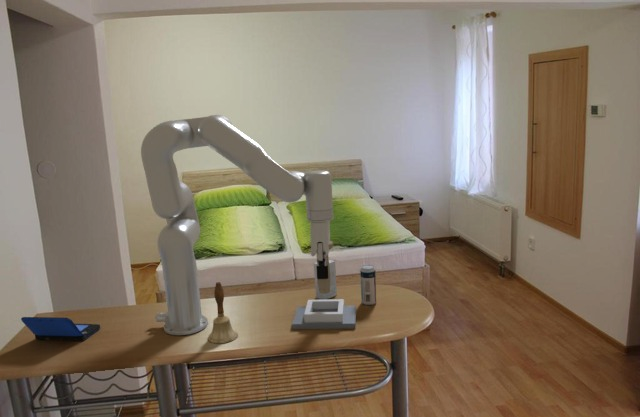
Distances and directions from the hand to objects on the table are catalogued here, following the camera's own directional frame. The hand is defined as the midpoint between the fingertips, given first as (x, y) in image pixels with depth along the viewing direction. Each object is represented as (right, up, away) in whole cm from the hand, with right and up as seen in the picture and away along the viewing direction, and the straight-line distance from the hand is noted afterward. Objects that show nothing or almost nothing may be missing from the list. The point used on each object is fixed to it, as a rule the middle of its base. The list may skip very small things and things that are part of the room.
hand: (323, 275), depth 149 cm
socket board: (+1, -13, +3) cm, 14 cm away
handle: (0, -5, +1) cm, 5 cm away
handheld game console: (-75, -18, 0) cm, 77 cm away
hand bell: (-28, -17, -5) cm, 33 cm away
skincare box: (+1, -10, +20) cm, 23 cm away
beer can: (+15, -11, +13) cm, 22 cm away
